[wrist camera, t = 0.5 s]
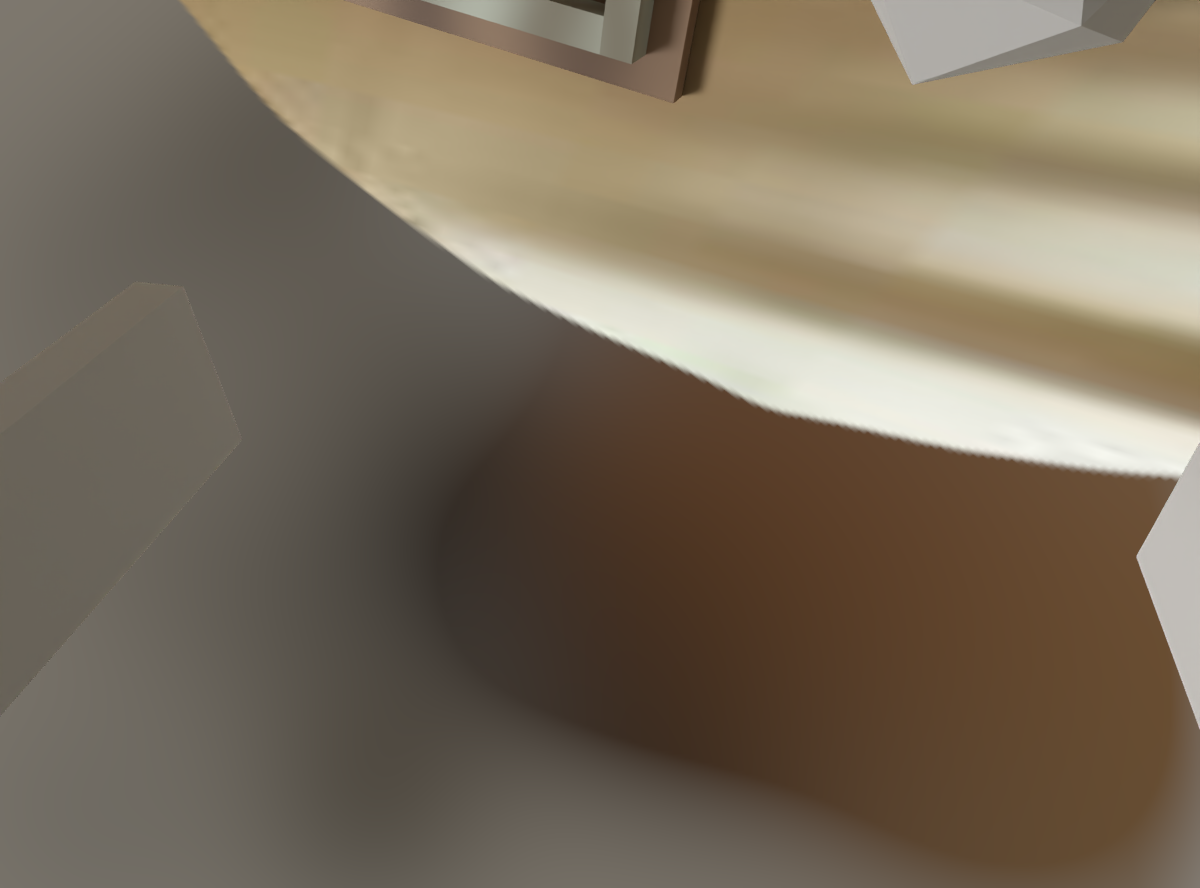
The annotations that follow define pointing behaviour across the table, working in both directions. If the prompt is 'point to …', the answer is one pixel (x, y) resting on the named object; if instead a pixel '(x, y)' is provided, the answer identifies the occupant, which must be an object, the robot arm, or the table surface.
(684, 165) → the table surface
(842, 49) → the table surface
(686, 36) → the dice tray
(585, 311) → the table surface
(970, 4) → the die
